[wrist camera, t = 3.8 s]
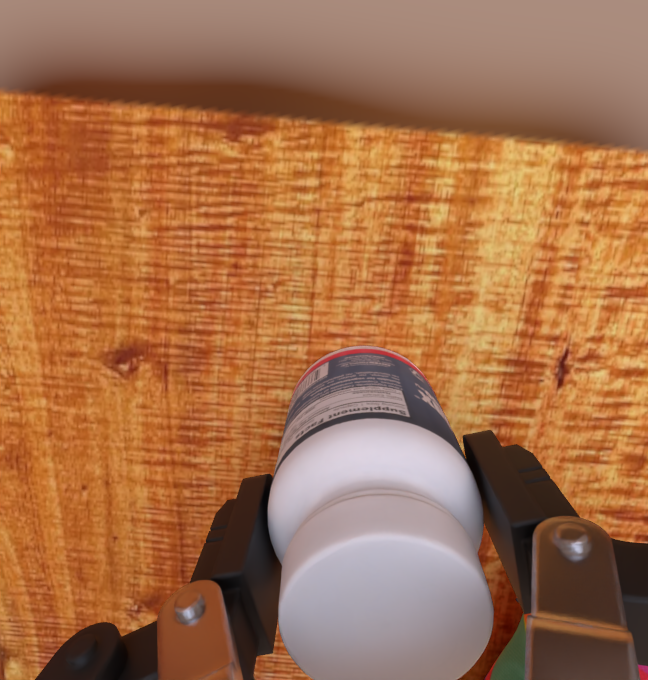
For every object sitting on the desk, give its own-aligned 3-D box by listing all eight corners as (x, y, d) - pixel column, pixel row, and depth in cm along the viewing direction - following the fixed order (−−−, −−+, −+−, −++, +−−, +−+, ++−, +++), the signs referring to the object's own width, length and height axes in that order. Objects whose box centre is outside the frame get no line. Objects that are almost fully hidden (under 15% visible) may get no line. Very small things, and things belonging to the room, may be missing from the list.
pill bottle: (443, 460, 17) (542, 713, 9) (308, 483, 18) (281, 743, 9) (423, 328, 16) (520, 484, 7) (275, 356, 16) (208, 533, 8)
